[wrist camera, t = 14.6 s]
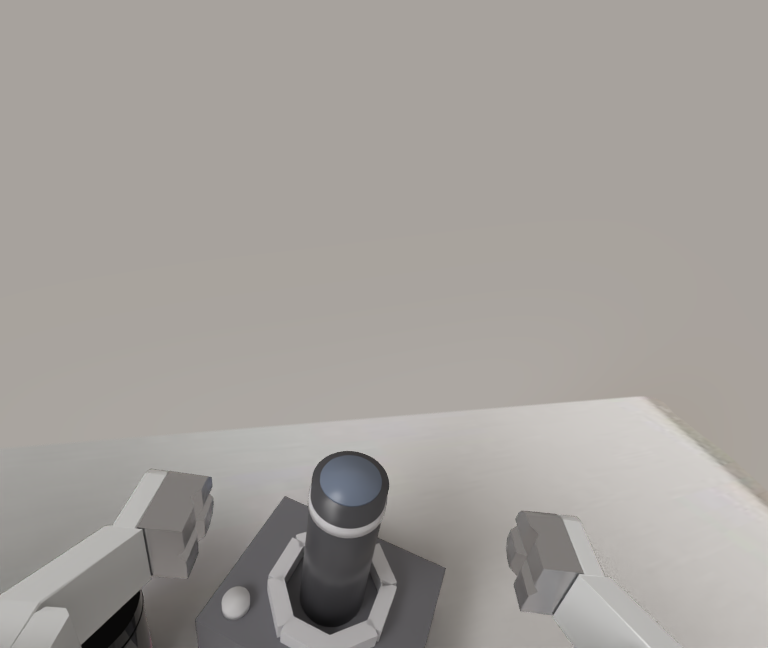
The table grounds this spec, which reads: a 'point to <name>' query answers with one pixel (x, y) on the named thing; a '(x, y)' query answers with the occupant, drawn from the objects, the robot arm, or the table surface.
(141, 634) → the supplement container
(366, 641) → the camera body
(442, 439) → the table surface
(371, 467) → the lens
